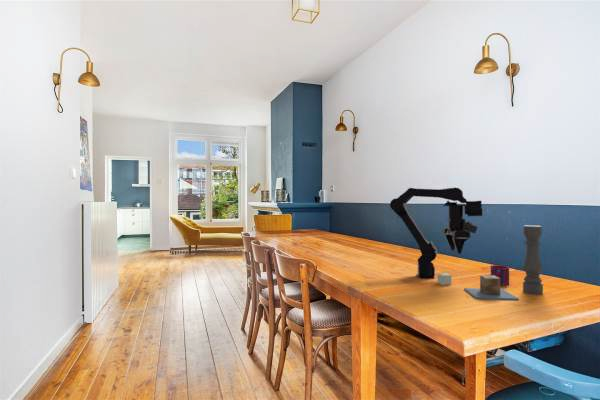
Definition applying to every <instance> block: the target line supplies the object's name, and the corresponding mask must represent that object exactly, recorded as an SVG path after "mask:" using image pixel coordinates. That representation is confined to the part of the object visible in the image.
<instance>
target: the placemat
mask: <svg viewBox="0 0 600 400" xmlns="http://www.w3.org/2000/svg"><path fill="white" fill-rule="evenodd" d="M463 290H464V291H465V292H467V293H468V294H469V296H472V297H473V299H475V300H495V301H496V300H497V301H499V300H500V301H519V298H518V297H517V296H515V295H514V294H512V293H510V292H508V291H507V290H505V289H504V288H503V289H502V288H500V295H485V294H484V293H482V292H481V291H480V288H475V287H474V288H471V287H469V288H467V287H466V288H465V287H464V289H463Z"/></svg>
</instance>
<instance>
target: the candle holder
mask: <svg viewBox="0 0 600 400" xmlns="http://www.w3.org/2000/svg"><path fill="white" fill-rule="evenodd" d="M542 227H543V226H542V225H534V224H533V225H532V224H531V225H530V224H526V225H525V224H524V225H523V236H524V238H525V239H526V240H525V241H524V242H523V243H524V245H525V246H526V247H525V248H526V251H525V252H526V254H525V257H524V261H523V264H522V268H523V270H524V272H525V276H524V277H523V281H522V292H523V293H525V294H529V295H537V296H538V295H543V294H544V285H543V280H542V279H541V277H540V276H541V273H542V272H543V264H542V259H541V257H540V254H539V253H540V249H539V248H540V245H541V244H542V242H541V241H540V239H541V237H542V234H543V231H542V230H543V228H542Z"/></svg>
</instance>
